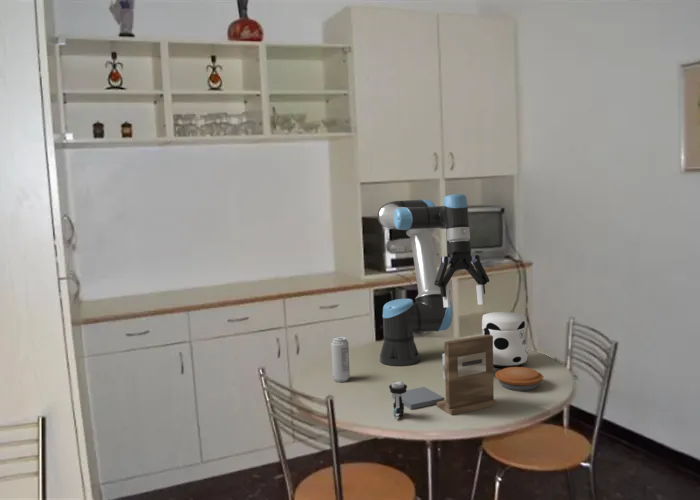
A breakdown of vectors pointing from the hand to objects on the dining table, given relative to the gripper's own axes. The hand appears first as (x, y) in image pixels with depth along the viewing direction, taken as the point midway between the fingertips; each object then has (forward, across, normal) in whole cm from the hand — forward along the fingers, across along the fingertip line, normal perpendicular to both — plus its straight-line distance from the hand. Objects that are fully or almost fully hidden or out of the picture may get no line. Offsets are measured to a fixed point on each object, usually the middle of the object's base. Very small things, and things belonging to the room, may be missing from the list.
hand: (464, 306), depth 205 cm
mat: (+28, -18, +4) cm, 34 cm away
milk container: (+23, +30, +20) cm, 42 cm away
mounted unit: (+30, -8, -8) cm, 32 cm away
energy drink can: (+24, -30, +35) cm, 52 cm away
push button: (+31, -30, -4) cm, 43 cm away
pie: (+28, +18, -2) cm, 33 cm away
